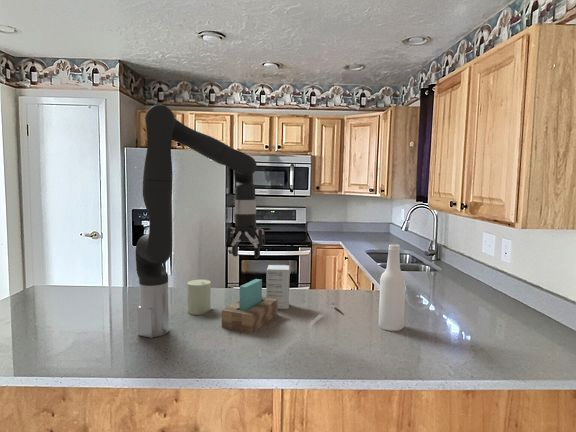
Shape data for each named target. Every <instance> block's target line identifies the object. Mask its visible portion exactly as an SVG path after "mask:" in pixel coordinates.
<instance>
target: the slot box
mask: <svg viewBox="0 0 576 432" xmlns="http://www.w3.org/2000/svg"><path fill="white" fill-rule="evenodd" d="M278 311H279V309H278V299H272V298H266V297H263V296H262V302H261V303H259V304H257V305H255V306H254V307H252V308H250V309H249V310H247V311H240V300H238V301H236V302H235V303H233V304H232V303H231V305H228V306H226V307H224V308H223V309H221V328H225V329H228V330H229V329H230V330H235V331H241V332H247V333H251V334H253V333H254V332H255V331H256V330H258V329H259V328H261V327H262V326H264V325H265V324H267V323H268V322H269V321H271V320H273V319H274V318H275V317H276V316H278Z"/></svg>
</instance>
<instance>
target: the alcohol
mask: <svg viewBox="0 0 576 432" xmlns="http://www.w3.org/2000/svg"><path fill="white" fill-rule="evenodd" d="M400 251H401V244H396V243H391V244H389V245H388V253H387V254H388V255H387V259H386V260H387V263H386V268H385V270H384V272H382V273H381V274H380V275H381V276H380V278H379V301H378V327H380V329H382V330H384V331H388V332H398V331H402V330H403V328H404V325H405V306H406V305H405V303H406V302H405V301H406V282H407V281H406V277H405V275H404V273H403V272H402V269H401V258H400V257H401V254H400Z"/></svg>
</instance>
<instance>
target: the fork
mask: <svg viewBox="0 0 576 432" xmlns="http://www.w3.org/2000/svg"><path fill="white" fill-rule="evenodd" d="M325 301H326V304H327V306H331V307H332V308H333V309H334V310H335V311H336V312H338V313H340V314H341V315H343V316H344V315H345V314H344V313H343V312H342V311H341V310H340V309H339V308H337V307H336V306H335V305H334V303H333V301H332V299H326V300H325Z"/></svg>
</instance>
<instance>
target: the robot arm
mask: <svg viewBox="0 0 576 432" xmlns="http://www.w3.org/2000/svg"><path fill="white" fill-rule="evenodd" d="M144 119H145V120H144V122H145V127H146V140H147V141H146V142H147V143H146V144H147V146H146V154H145V161H144V166H143V167H144V169H143V175H142V198H143V199H142V200H143V202H144V205H145V208H146V212H147V216H148V221H149V229H148V233H146V234H143V235H142V236H141V237H139V239H138V240H137V242H136V245H135V266H136V274H137V277H138V285H139V287H138V288H139V289H138V291H139V292H138V293H139V294H138V295H139V298H138V299H139V306H137V309H136V310H137V312H136V313H137V317H136V318H137V335H138V336H141V337H144V338H145V337H146V338H149V339H152V338H156V337H162V336H164V335H166V334H167V333H168V332H169V322H170V321H169V320H170V319H169V274H168V272H167V271H166V270H165V267H164V265H163V264H165V263H166V262H168V261H169V260H170V257H171V255H172V252H173V236H172V235H173V234H172V224H171V223H172V220H171V219H172V196H173V183H174V182H173V178H174V177H173V162H172V143H173V142H176V143H178V144H181V145H183V146H185V147H187V148H189V149H190V150H192V151H194V152H196V153H198V154H200V155H202V156H204V157H206V158H207V159H209V160H211V161H213V162H215V163H218V164H219V165H222V166H225V167H228V168H229V169H231V170H233V176H234V183H235V189H234V190H235V192H234V194H235V196H234V197H235V203H234V225H235V227H232V226H231V227H228V228H227V231H226V232H227V234H226V243H227V244H228V245H230V246H231V253H232V256H233V257H237V256H239V246H238V244H239V243H240V242H241V241H246V242H250V243H251V245H252V246H253V247H254V248H253V256H254V257H253V259H259V257H260V256H261V250H260V249H261V247H264V246H265V245H266V236H265V235H266V234H265V229H264V228H260V229H257V203H256V187H255V186H256V185H255V184H254V177H253V175H254V173H255V172H256V170H257V166H258V165H257V162H256V160H255V159H254V158H253V157H252V156H251V155H249V154H247V153H245V152H242V151H240V150H238V149H235V148H234V147H233V148H232V147H230V146H229V145H227V144H226V143H224V142H222V141H221V140H219V139H217V138H215V137H213V136H211V135H208V134H205V133H202V132H200V131H198V130H195V129H193V128H190V127H188V126H187V125H185V124H184V123H182V122H181V121H179V120H178V119H177V118H175V115H174V112H173V111H172V110H171V108H170V107H168V106H166V105H165V104H156V105H153V106H151V107H150V108H149V109H148V110H147V111H146V113H145V116H144ZM172 141H173V142H172ZM234 235H235V237H234ZM256 235H257V236H258V237H257V236H256Z"/></svg>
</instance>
